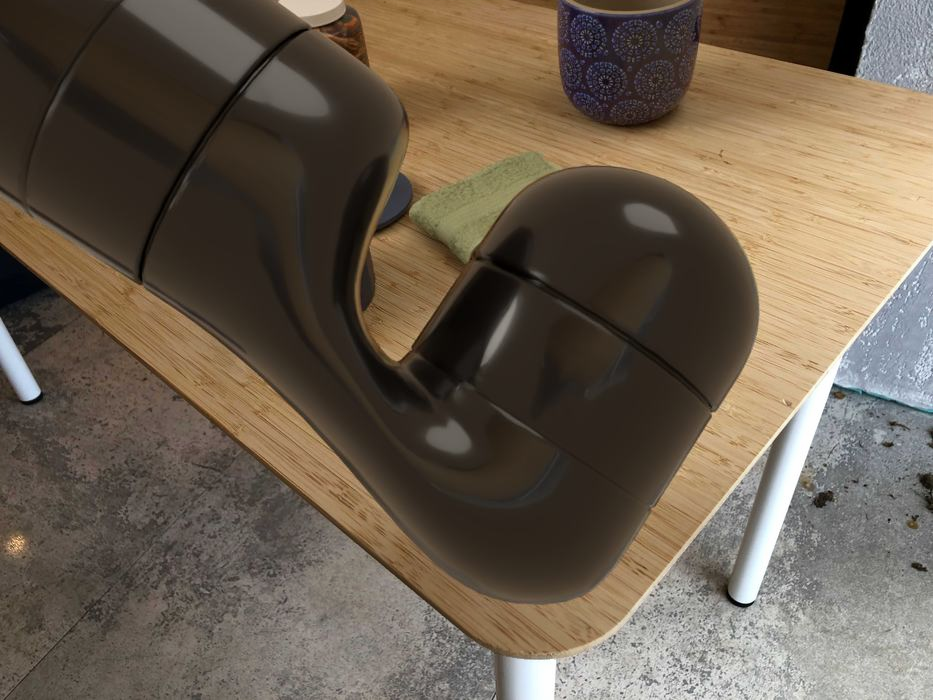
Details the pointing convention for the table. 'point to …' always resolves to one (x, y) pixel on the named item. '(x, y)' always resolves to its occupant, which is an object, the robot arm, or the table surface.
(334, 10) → the jar
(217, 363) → the table surface
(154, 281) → the robot arm
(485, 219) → the washcloth
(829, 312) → the table surface
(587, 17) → the planter
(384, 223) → the lid
